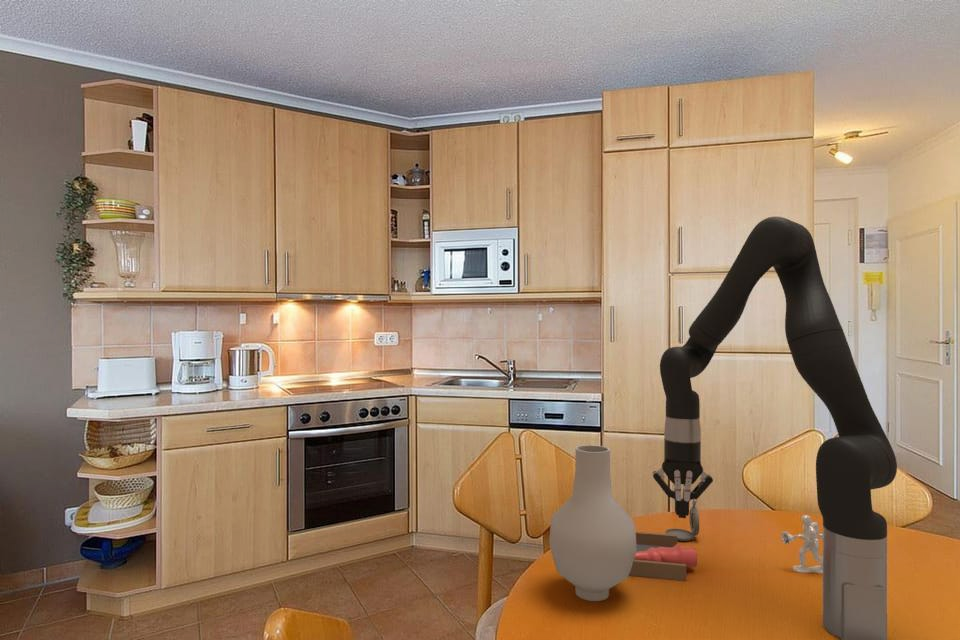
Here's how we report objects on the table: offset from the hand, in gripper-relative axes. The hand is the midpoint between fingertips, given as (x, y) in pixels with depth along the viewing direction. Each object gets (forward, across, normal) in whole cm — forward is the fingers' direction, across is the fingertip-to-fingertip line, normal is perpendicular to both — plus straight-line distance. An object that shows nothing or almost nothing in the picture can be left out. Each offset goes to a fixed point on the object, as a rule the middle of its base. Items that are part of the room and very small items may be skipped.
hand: (682, 516), depth 128 cm
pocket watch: (+10, +2, +16) cm, 19 cm away
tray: (+10, -9, 0) cm, 13 cm away
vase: (+10, -19, -19) cm, 29 cm away
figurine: (+10, +25, +2) cm, 27 cm away
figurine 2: (+7, +2, -3) cm, 8 cm away
